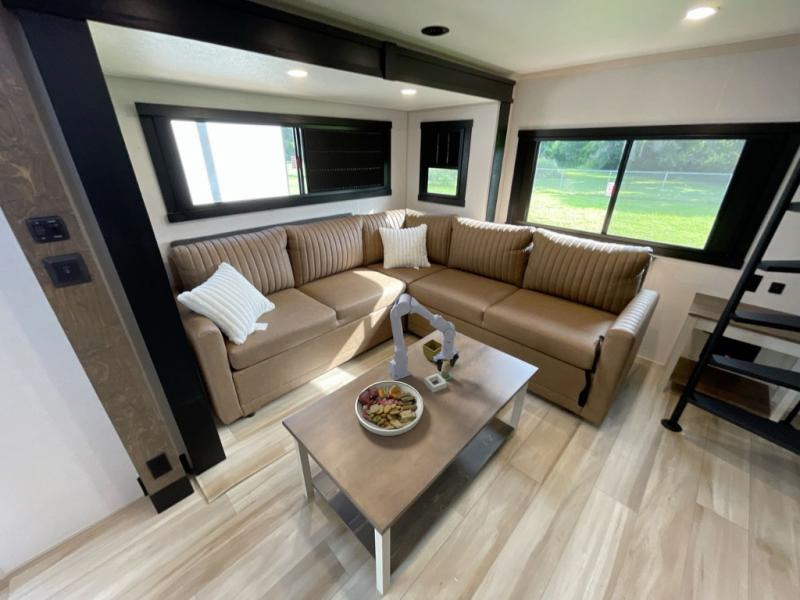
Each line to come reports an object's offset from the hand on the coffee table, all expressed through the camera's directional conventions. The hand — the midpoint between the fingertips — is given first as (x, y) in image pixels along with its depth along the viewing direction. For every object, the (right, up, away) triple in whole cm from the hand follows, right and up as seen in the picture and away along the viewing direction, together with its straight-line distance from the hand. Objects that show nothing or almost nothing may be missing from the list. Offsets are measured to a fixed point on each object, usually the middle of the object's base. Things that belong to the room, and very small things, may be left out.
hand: (445, 368), depth 157 cm
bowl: (-28, -15, -19) cm, 37 cm away
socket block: (-6, -8, -3) cm, 10 cm away
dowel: (0, -4, +2) cm, 5 cm away
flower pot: (-5, +2, +16) cm, 17 cm away
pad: (0, -5, +2) cm, 5 cm away
